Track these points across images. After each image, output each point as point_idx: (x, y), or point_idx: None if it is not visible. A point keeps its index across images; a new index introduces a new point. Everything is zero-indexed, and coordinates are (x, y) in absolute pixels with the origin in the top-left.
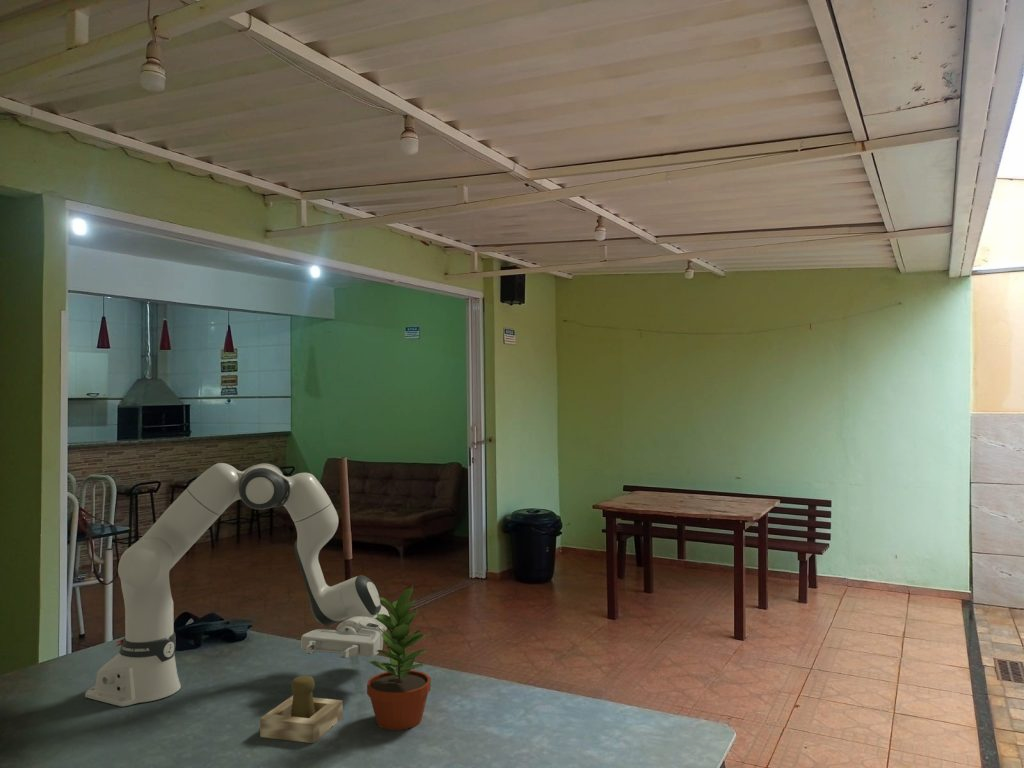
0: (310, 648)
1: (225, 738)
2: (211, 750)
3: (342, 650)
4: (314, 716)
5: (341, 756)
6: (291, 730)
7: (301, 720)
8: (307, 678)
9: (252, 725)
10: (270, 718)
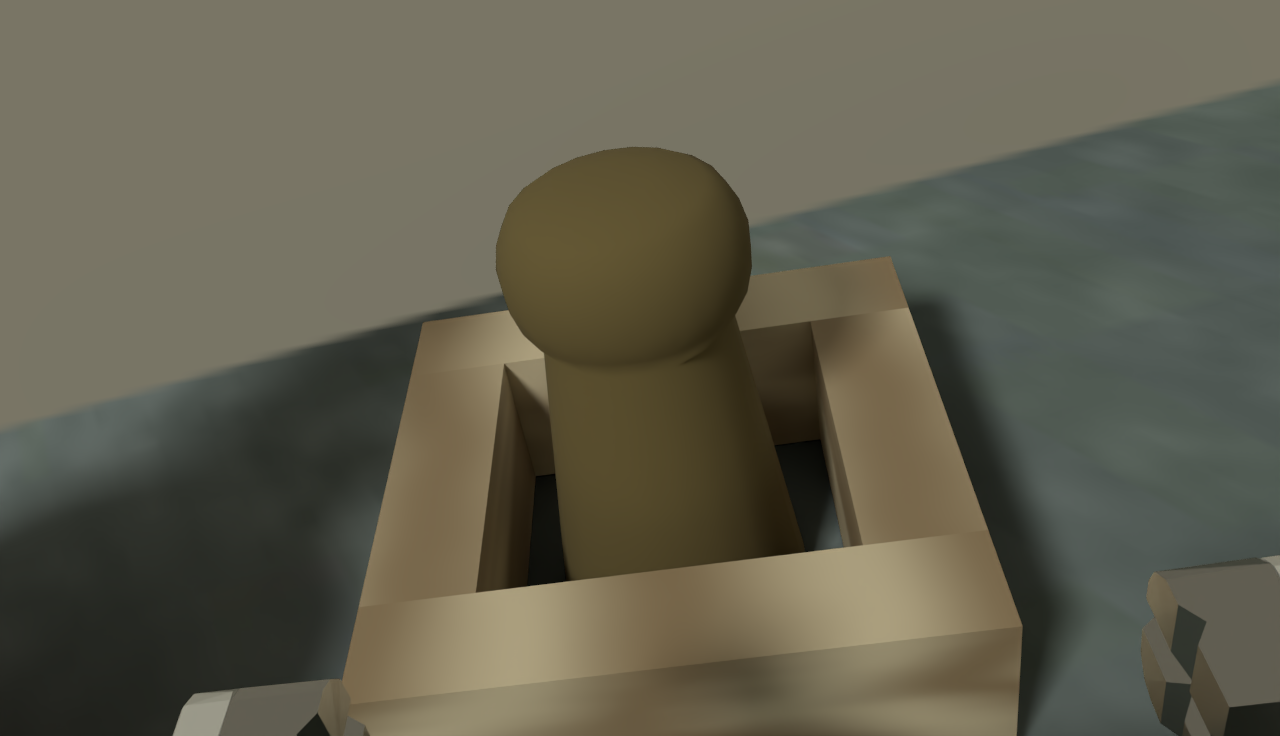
0: (1176, 575)
1: (1113, 295)
2: (1039, 209)
3: (294, 693)
4: (475, 394)
5: (214, 392)
6: None
7: None
8: (548, 191)
9: (1132, 457)
10: (810, 278)
